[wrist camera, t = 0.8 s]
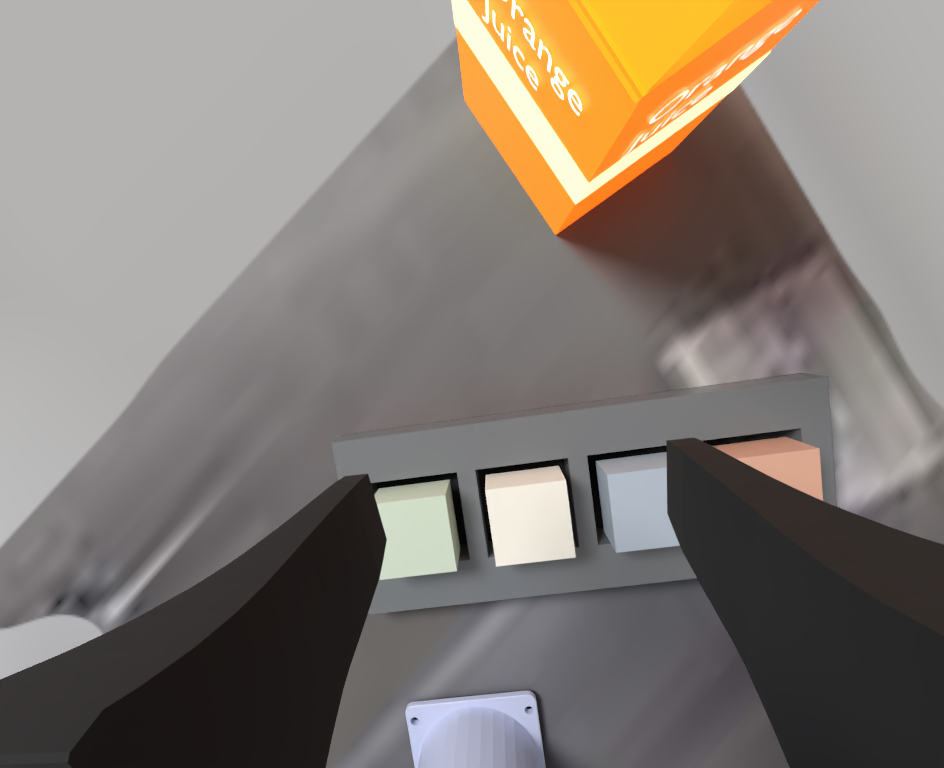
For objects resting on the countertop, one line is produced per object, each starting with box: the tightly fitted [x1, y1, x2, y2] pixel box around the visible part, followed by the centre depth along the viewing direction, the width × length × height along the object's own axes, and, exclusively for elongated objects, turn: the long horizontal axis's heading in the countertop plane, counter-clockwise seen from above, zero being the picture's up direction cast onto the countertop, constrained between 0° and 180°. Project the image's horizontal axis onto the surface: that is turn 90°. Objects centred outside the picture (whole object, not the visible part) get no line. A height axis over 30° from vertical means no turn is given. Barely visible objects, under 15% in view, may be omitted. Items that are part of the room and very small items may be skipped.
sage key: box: [374, 479, 460, 580], centre depth 24 cm, size 4×4×2 cm
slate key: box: [596, 452, 680, 553], centre depth 23 cm, size 4×4×2 cm
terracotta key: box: [713, 437, 823, 501], centre depth 23 cm, size 4×4×2 cm
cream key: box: [485, 466, 576, 567], centre depth 24 cm, size 4×4×2 cm
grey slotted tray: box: [332, 373, 837, 615], centre depth 25 cm, size 10×26×2 cm, turn 98°
